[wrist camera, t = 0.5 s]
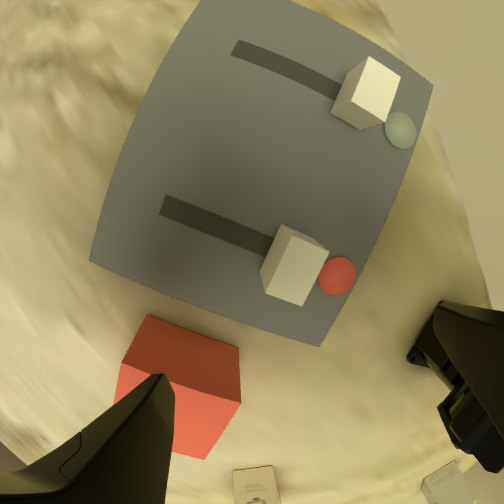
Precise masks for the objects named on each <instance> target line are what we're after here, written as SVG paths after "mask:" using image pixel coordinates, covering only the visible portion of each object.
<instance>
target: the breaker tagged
mask: <svg viewBox="0 0 504 504" xmlns="http://www.w3.org/2000/svg"><path fill="white" fill-rule="evenodd" d="M328 254H329V251H328V250H327V249H326V248H324V247H323V246H322V245H321V244H320V243H318V242H317V241H316V240H315V239H314V238H312V237H310V236H308V235H305V234H303V233H301V232H299V231H296V230H294V229H292V228H290V227H287V226H285V225H283V224H281V225H280V228H279V230H278V232H277V234H276V236H275V239H274V241H273V243H272V245H271V247H270V250H269V252H268V254H267V256H266V258H265V260H264V263H263V265H262V267H261V269H260V271H259V272H260V276H261V280H262V283H263V287H264V291H265V293H266V294H269V295H271V296H274V297H277V298H280V299H282V300H285V301H288V302H291V303H294V304H296V305H299V306H303V304H304V302H305V300H306V298H307V296H308V294H309V292H310V290H311V288H312V286H313V284H314V282H315V280H316V278H317V277H318V275H319V273H320V271H321V269H322V267H323V265H324V262H325V260H326V258H327V256H328Z"/></svg>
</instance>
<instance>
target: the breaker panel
mask: <svg viewBox="0 0 504 504" xmlns="http://www.w3.org/2000/svg"><path fill="white" fill-rule="evenodd" d="M368 56H370V57H371V58H373V59H375V60H376V61H378V62H379V63H381V64H382V65H384V66H385V67H387V68H388V69H390V70H391V71H393V72H394V73H396V74H397V75H399V76H400V77H401V78H400V81H399V84H398V87H397V90H396V93H395V96H394V99H393V102H392V105H391V108H390V110H389V113H388V116H387V119H386V121H385V122H384V123H381V124H377V125H374V126H370V127H367V128H364V129H360V130H359V129H358V128H356V127H354V126H352V125H351V124H349V123H347V122H345V121H344V120H342V119H340V118H338V117H336V116H335V115H333V114H331V113H330V112H331V110H332V107H333V105H334V103H335V100H336V98H337V96H338V93H339V91H340V89H341V86H342V84H343V82H344V79H345V77H346V74H347V73H348V72H349V71H351V70H352V69H353V68H354V67H356V66H357V65H358V64H359V63H361V62H362V61H363V60H365V59H366V58H367V57H368ZM432 89H433V85H432V84H431V83H430V82H429V81H427V80H426V79H425V78H424V77H422V76H421V75H419V74H418V73H417V72H416V71H414V70H413V69H412V68H411V67H409V66H408V65H406V64H405V63H404V62H402V61H401V60H399V59H398V58H397V57H395V56H394V55H392V54H391V53H389V52H388V51H386V50H385V49H383V48H381V47H380V46H378V45H377V44H375V43H374V42H372V41H370V40H369V39H367V38H365V37H364V36H362V35H360V34H358V33H357V32H355V31H353V30H351V29H349V28H347V27H346V26H344V25H342V24H340V23H338V22H336V21H334V20H332V19H330V18H328V17H326V16H324V15H322V14H319V13H317V12H315V11H313V10H311V9H308V8H306V7H304V6H301V5H299V4H296V3H294V2H291V1H289V0H201V1H200V2H199V4H198V5H197V7H196V8H195V10H194V11H193V12H192V14H191V15H190V17H189V18H188V20H187V21H186V23H185V25H184V26H183V28H182V29H181V31H180V32H179V34H178V36H177V37H176V39H175V41H174V42H173V44H172V46H171V47H170V49H169V51H168V53H167V54H166V56H165V58H164V60H163V62H162V63H161V65H160V67H159V69H158V71H157V73H156V75H155V76H154V78H153V80H152V82H151V84H150V86H149V88H148V90H147V92H146V94H145V97H144V99H143V101H142V103H141V105H140V107H139V109H138V112H137V114H136V116H135V118H134V121H133V123H132V125H131V128H130V130H129V133H128V135H127V138H126V140H125V143H124V145H123V148H122V150H121V153H120V156H119V158H118V161H117V164H116V167H115V169H114V172H113V175H112V178H111V181H110V184H109V187H108V191H107V194H106V197H105V200H104V204H103V207H102V210H101V214H100V218H99V221H98V225H97V229H96V233H95V237H94V241H93V245H92V249H91V254H90V258H89V261H90V262H93V263H95V264H97V265H99V266H101V267H103V268H106V269H108V270H110V271H112V272H114V273H117V274H119V275H121V276H123V277H126V278H128V279H130V280H133V281H135V282H137V283H140V284H142V285H144V286H147V287H149V288H152V289H154V290H156V291H159V292H161V293H164V294H166V295H169V296H171V297H174V298H176V299H179V300H181V301H184V302H187V303H189V304H192V305H194V306H197V307H200V308H202V309H205V310H208V311H210V312H213V313H216V314H219V315H221V316H224V317H227V318H230V319H233V320H236V321H238V322H241V323H244V324H247V325H250V326H253V327H256V328H259V329H262V330H265V331H268V332H271V333H274V334H277V335H281V336H284V337H287V338H290V339H293V340H297V341H300V342H303V343H307V344H310V345H313V346H317V347H319V346H320V345H321V343H322V341H323V340H324V338H325V336H326V335H327V333H328V331H329V330H330V328H331V326H332V325H333V323H334V321H335V319H336V318H337V316H338V314H339V312H340V311H341V309H342V307H343V305H344V303H345V302H346V300H347V298H348V296H349V294H350V292H351V290H352V289H353V287H354V285H355V283H356V281H357V279H358V277H359V275H360V273H361V271H362V269H363V267H364V265H365V263H366V261H367V259H368V257H369V255H370V253H371V251H372V249H373V247H374V245H375V243H376V241H377V238H378V236H379V234H380V232H381V230H382V228H383V225H384V223H385V221H386V219H387V216H388V214H389V212H390V209H391V207H392V205H393V202H394V200H395V197H396V195H397V193H398V190H399V188H400V185H401V183H402V180H403V177H404V175H405V172H406V170H407V167H408V164H409V162H410V159H411V156H412V153H413V150H414V148H415V145H416V142H417V139H418V136H419V133H420V130H421V127H422V123H423V120H424V117H425V114H426V110H427V107H428V103H429V100H430V96H431V93H432ZM281 224H283V225H285V226H287V227H290V228H292V229H294V230H296V231H299V232H301V233H303V234H305V235H308V236H310V237H312V238H314V239H315V240H316V241H317V242H318V243H320V244H321V245H322V246H323V247H324V248H326V249H327V250H328V251H329V254H328V256H327V258H326V260H325V262H324V265H323V267H322V269H321V271H320V273H319V275H318V277H317V278H316V280H315V282H314V284H313V286H312V288H311V290H310V292H309V294H308V296H307V298H306V300H305V302H304V304H303V306H299V305H296V304H294V303H291V302H288V301H285V300H282V299H280V298H277V297H274V296H271V295H269V294H266V293H265V291H264V287H263V283H262V280H261V276H260V272H259V271H260V269H261V267H262V265H263V263H264V260H265V258H266V256H267V254H268V252H269V250H270V247H271V245H272V243H273V241H274V239H275V236H276V234H277V232H278V230H279V228H280V225H281Z"/></svg>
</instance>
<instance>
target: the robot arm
mask: <svg viewBox="0 0 504 504" xmlns="http://www.w3.org/2000/svg"><path fill="white" fill-rule="evenodd" d="M407 361H408V362H409V363H411V364H416V365H420V366H424V367H428V368H431V369H432V370H433V371H434V372H435V373H436V375H437V376H438V377H439V378H440V379H441V380H442V381H443V382H444V384H445V385H446V386H447V387H448V388H449V389H450V390H451V392H450V393H449V395H448V396H447V397H446V398H445V400H444V401H443V402H442V403H440V404H439V405H438V406H437V409H438V411H439V413H440V417H441V419H442V421H443V423H444V425H445V428H446V430H447V432H448V434H449V437H450V439H451V441H452V443H453V444H454V446H455V448H457V449H461V450H462V451H464V452H465V453H467V454H473V455H474V456H475V457H476V459H477V460H478V461H479V462H480V464H481V465H482V466H483V467H484V469H485V470H486V471H489V472H493V473H498V472H499V471H501V470H502V469H503V468H504V312H503V311H497V310H491V309H485V308H479V307H473V306H467V305H461V304H455V303H450V302H445V301H441V302H440V303H439V305H437V306H436V307H435V311H434V314H433V316H432V318H431V319H430V321H429V323H428V324H427V326H426V328H425V329H424V331H423V333H422V334H421V336H420V338H419V339H418V341H417V342H416V344H415V346H414V347H413V349H412V350H411V352H410V353H409V355H408V356H407ZM174 419H175V393H174V390H173V388H172V386H171V384H170V382H169V380H168V378H167V376H166V375H165V374H164V373H155V374H151V375H150V376H149V377H148V378H146V379H145V380H144V381H143V382H141V383H140V384H139V385H138V386H137V387H135V388H134V389H133V390H132V391H130V392H129V393H128V394H127V395H125V396H124V397H123V398H122V399H120V400H119V401H118V402H117V403H115V404H114V405H113V406H112V407H110V408H109V409H108V410H107V411H105V412H104V413H103V414H102V415H100V416H99V417H98V418H96V419H95V420H94V421H93V422H91V423H90V424H89V425H88V426H86V427H85V428H84V429H82V430H81V432H78V433H77V434H76V435H75V436H73V437H72V438H71V439H69V440H68V441H66V442H65V443H64V444H62V445H61V446H59V447H58V448H56V449H55V450H53V451H52V452H50V453H48V454H47V455H45V456H44V457H42V458H40V459H39V460H37V461H35V462H34V463H32V464H30V465H29V466H27V467H25V468H23V469H21V470H18V471H14V472H2V471H0V504H165V497H166V489H167V481H168V473H169V466H170V459H171V452H172V446H173V438H174Z"/></svg>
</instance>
